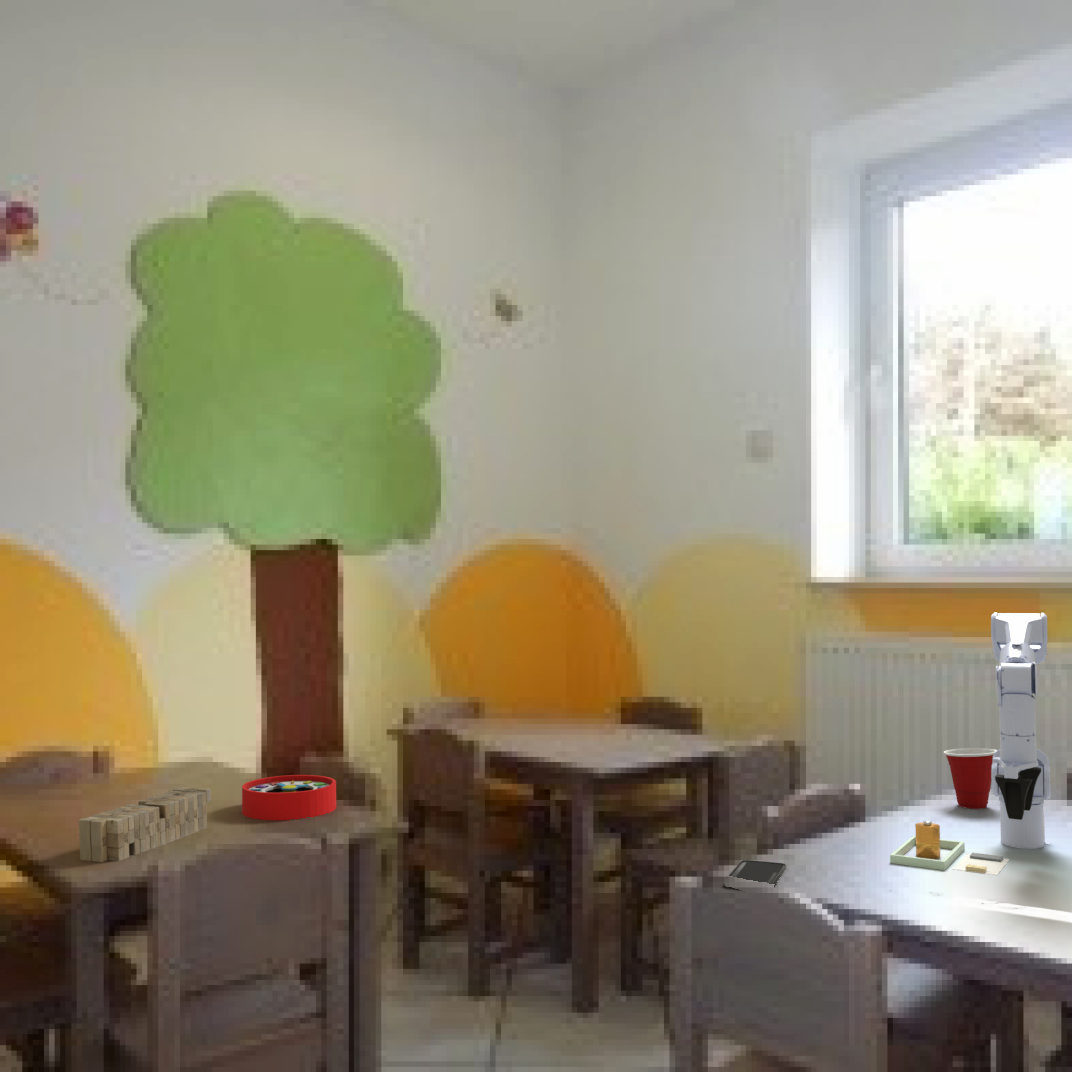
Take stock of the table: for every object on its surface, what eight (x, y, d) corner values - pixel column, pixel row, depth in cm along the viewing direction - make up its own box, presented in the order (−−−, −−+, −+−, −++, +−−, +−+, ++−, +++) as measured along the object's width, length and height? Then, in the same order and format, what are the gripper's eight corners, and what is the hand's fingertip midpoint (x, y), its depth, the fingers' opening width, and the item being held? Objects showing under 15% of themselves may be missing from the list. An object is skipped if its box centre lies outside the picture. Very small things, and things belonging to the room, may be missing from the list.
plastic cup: (961, 798, 248) (959, 743, 248) (1008, 806, 240) (1007, 749, 240) (934, 805, 241) (933, 749, 241) (982, 814, 233) (981, 755, 233)
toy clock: (265, 797, 232) (227, 782, 248) (265, 826, 232) (227, 809, 248) (352, 784, 244) (311, 771, 260) (352, 811, 244) (311, 797, 260)
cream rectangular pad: (966, 860, 198) (966, 850, 198) (1009, 866, 194) (1009, 855, 194) (952, 876, 188) (952, 865, 188) (997, 882, 185) (997, 871, 185)
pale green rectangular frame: (912, 849, 206) (912, 835, 206) (964, 856, 201) (964, 842, 201) (890, 869, 193) (890, 854, 193) (945, 876, 188) (944, 861, 188)
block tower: (113, 869, 204) (213, 827, 231) (112, 822, 204) (212, 785, 231) (78, 865, 207) (181, 824, 234) (77, 819, 207) (180, 783, 234)
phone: (722, 882, 184) (742, 859, 198) (722, 889, 184) (742, 865, 198) (771, 887, 181) (788, 863, 195) (771, 894, 181) (788, 870, 195)
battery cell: (919, 855, 200) (918, 818, 200) (942, 858, 197) (942, 820, 198) (913, 860, 196) (912, 822, 196) (937, 864, 194) (936, 825, 194)
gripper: (1000, 726, 200) (1002, 803, 200) (984, 738, 188) (985, 820, 188) (1044, 729, 196) (1045, 807, 196) (1029, 741, 184) (1031, 825, 184)
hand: (1019, 814), depth 192 cm, fingers open, 7 cm apart
